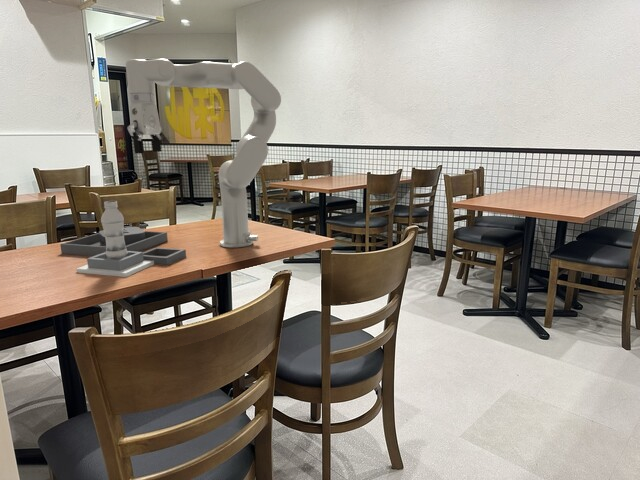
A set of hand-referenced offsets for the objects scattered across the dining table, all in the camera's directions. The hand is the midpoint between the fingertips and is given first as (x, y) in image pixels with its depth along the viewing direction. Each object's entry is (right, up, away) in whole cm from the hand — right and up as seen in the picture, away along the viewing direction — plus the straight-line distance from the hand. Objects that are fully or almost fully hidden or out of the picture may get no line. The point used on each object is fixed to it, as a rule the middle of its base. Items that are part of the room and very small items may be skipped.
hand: (148, 152), depth 151 cm
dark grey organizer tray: (-18, -32, +17) cm, 41 cm away
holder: (+5, -36, -1) cm, 37 cm away
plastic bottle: (-6, -38, -10) cm, 39 cm away
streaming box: (-17, -32, +18) cm, 40 cm away
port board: (-6, -39, -10) cm, 41 cm away
